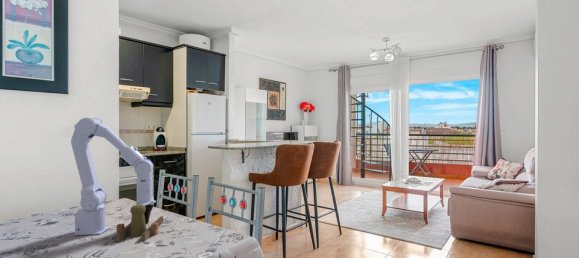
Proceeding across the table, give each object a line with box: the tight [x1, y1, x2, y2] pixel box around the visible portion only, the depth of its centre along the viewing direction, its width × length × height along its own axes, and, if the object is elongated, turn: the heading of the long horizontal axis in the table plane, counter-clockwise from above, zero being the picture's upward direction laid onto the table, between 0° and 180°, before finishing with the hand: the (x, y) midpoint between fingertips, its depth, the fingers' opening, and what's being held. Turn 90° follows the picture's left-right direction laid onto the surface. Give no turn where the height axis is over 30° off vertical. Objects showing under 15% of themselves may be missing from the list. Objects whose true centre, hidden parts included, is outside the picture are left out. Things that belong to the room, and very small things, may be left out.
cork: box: [128, 204, 148, 238], centre depth 119 cm, size 6×6×11 cm
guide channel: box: [114, 215, 164, 243], centre depth 122 cm, size 14×21×4 cm
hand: (145, 223), depth 126 cm, fingers closed
